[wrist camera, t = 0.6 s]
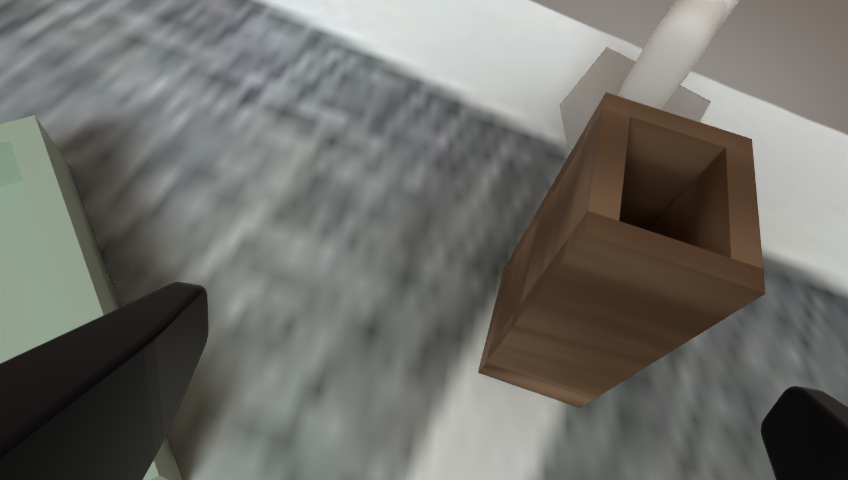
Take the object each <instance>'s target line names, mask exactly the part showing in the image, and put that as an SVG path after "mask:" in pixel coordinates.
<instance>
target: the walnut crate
mask: <svg viewBox="0 0 848 480" xmlns="http://www.w3.org/2000/svg"><path fill="white" fill-rule="evenodd" d="M764 294H765V284H764V273H763V262H762V250H761V239H760V227H759V216H758V205H757V193H756V182H755V171H754V159H753V148H752V139H750V138H747V137H743V136H740V135H737V134H734V133H731V132H728V131H725V130H722V129H719V128H715V127H712V126H709V125H706V124H703V123H700V122H697V121H694V120H691V119H687V118H684V117H681V116H678V115H675V114H672V113H669V112H666V111H663V110H660V109H656V108H653V107H650V106H647V105H644V104H641V103H638V102H635V101H632V100H628V99H625V98H622V97H619V96H616V95H613V94H610V93H607V92H606V93H605V95H604V96H603V98H602V100H601V101H600V103H599V105H598V107H597V108H596V110H595V112H594V114H593V115H592V117H591V119H590V120H589V122H588V124H587V126H586V127H585V129H584V131H583V133H582V134H581V136H580V138H579V140H578V141H577V143H576V145H575V146H574V148H573V150H572V152H571V153H570V155H569V157H568V159H567V160H566V162H565V164H564V166H563V167H562V169H561V171H560V172H559V174H558V176H557V178H556V179H555V181H554V183H553V185H552V186H551V188H550V190H549V192H548V193H547V195H546V197H545V198H544V200H543V202H542V204H541V205H540V207H539V209H538V211H537V212H536V214H535V216H534V218H533V219H532V221H531V223H530V224H529V226H528V228H527V230H526V231H525V233H524V235H523V237H522V238H521V240H520V242H519V243H518V245H517V247H516V249H515V250H514V252H513V254H512V256H511V257H510V259H509V261H508V263H507V264H506V266H505V268H504V271H503V275H502V279H501V283H500V287H499V291H498V295H497V299H496V303H495V307H494V311H493V315H492V319H491V323H490V327H489V331H488V335H487V339H486V343H485V347H484V351H483V355H482V359H481V363H480V367H479V371H478V373H481V374H484V375H487V376H490V377H493V378H495V379H498V380H501V381H504V382H507V383H510V384H513V385H516V386H518V387H521V388H524V389H527V390H530V391H533V392H536V393H539V394H541V395H544V396H547V397H550V398H553V399H556V400H559V401H562V402H564V403H567V404H570V405H573V406H576V407H579V408H580V407H582V406H583V405H585V404H587V403H588V402H590V401H591V400H593V399H595V398H596V397H598V396H600V395H601V394H603V393H604V392H606V391H608V390H609V389H611V388H613V387H614V386H616V385H617V384H619V383H621V382H622V381H624V380H626V379H627V378H629V377H630V376H632V375H634V374H635V373H637V372H639V371H640V370H642V369H643V368H645V367H647V366H648V365H650V364H652V363H653V362H655V361H656V360H658V359H660V358H661V357H663V356H665V355H666V354H668V353H669V352H671V351H673V350H674V349H676V348H678V347H679V346H681V345H682V344H684V343H686V342H687V341H689V340H691V339H692V338H694V337H695V336H697V335H699V334H700V333H702V332H704V331H705V330H707V329H708V328H710V327H712V326H713V325H715V324H717V323H718V322H720V321H721V320H723V319H725V318H726V317H728V316H730V315H731V314H733V313H734V312H736V311H738V310H739V309H741V308H743V307H744V306H746V305H747V304H749V303H751V302H752V301H754V300H756V299H757V298H759V297H760V296H762V295H764Z"/></svg>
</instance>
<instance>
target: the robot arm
mask: <svg viewBox="0 0 848 480" xmlns="http://www.w3.org/2000/svg"><path fill="white" fill-rule="evenodd" d="M207 337H208V303H207V292H206V289H205V288H204V287H202V286H200V285H194V284H188V283H182V282H175V283H172V284H170V285H167V286H165V287H163V288H161V289H159V290H157V291H155V292H152V293H150V294H148V295H146V296H144V297H142V298H140V299H137V300H135V301H133V302H131V303H129V304H127V305H125V306H122V307H120V308H118V309H116V310H114V311H112V312H109V313H107V314H105V315H103V316H101V317H99V318H97V319H94V320H92V321H90V322H88V323H86V324H84V325H82V326H79V327H77V328H75V329H73V330H71V331H69V332H67V333H64V334H62V335H60V336H58V337H56V338H54V339H52V340H49V341H47V342H45V343H43V344H41V345H39V346H37V347H34V348H32V349H30V350H28V351H26V352H24V353H22V354H19V355H17V356H15V357H13V358H11V359H9V360H7V361H4V362H2V363H0V480H143V478H144V476H145V475H146V473H147V471H148V469H149V468H150V466H151V464H152V462H153V461H154V459H155V457H156V455H157V453H158V451H159V449H160V448H161V446H162V444H163V442H164V440H165V438H166V436H167V434H168V431H169V429H170V427H171V425H172V422H173V420H174V418H175V415H176V413H177V411H178V408H179V406H180V404H181V401H182V399H183V397H184V394H185V392H186V390H187V387H188V385H189V383H190V380H191V378H192V375H193V373H194V371H195V368H196V366H197V364H198V361H199V359H200V357H201V354H202V352H203V350H204V347H205V345H206V341H207ZM761 435H762V439H763V442H764V445H765V448H766V451H767V454H768V457H769V460H770V463H771V466H772V469H773V472H774V475H775V478H776V480H848V407H847V406H845V405H843V404H842V403H840V402H839V401H837V400H836V399H834V398H833V397H831V396H830V395H828V394H826V393H825V392H823V391H820V390H817V389H811V388H805V387H799V386H793V387H790V388H788V389H787V390H785V392H784V393H783V394H782V395H781V397H780V398H779V399H778V401H777V402H776V403H775V405H774V406H773V407H772V409H771V410H770V411H769V413H768V414H767V415H766V417H765V418H764V420H763V422H762V425H761Z"/></svg>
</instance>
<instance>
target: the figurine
mask: <svg viewBox="0 0 848 480" xmlns="http://www.w3.org/2000/svg"><path fill="white" fill-rule="evenodd" d="M738 1H739V0H675V1H674V3H673V4H672V6H671V8H670V9H669V11H668V13H667V14H666V15H665V17H664V18H663V19H662V20H661V22H660V23H659V24H658V26H657V27H656V29H655V30H654V32H653V33H652V35H651V36H650V38H649V40H648V42H647V43H646V45H645V47H644V49H643V50H642V52H641V54H640V56H639V57H638V59H637V61H636V62H635V61H633V60H631V59H629V58H627V57H625V56H623V55H621V54H619V53H617V52H616V51H614V50H612V49H610V48H608V47H607V48H606V49H605V50H604V51H603V53H602V54H601V55H600V56H599V57H598V59H597V60H596V61H595V62H594V64H593V65H592V66H591V67H590V69H589V70H588V71H587V72H586V74H585V75H584V76H583V77H582V78H581V80H580V81H579V82H578V83H577V85H576V86H575V87H574V88H573V90H572V91H571V92H570V93H569V95H568V96H567V97H566V98H565V100H564V101H563V102H562V103H561V104H560V110H561V115H562V120H563V125H564V130H565V135H566V140H567V145H568V147H569V148H571V149H572V150H573V148H574V146H575V145H576V143H577V141H578V140H579V138H580V136H581V134H582V133H583V131H584V129H585V127H586V126H587V124H588V122H589V120H590V119H591V117H592V115H593V114H594V112H595V110H596V108H597V107H598V105H599V103H600V101H601V100H602V98H603V96H604V95H605V93H606V92H607V93H610V94H613V95H616V96H619V97H622V98H625V99H628V100H632V101H635V102H638V103H641V104H644V105H647V106H650V107H653V108H656V109H660V110H663V111H666V112H669V113H672V114H675V115H678V116H681V117H684V118H687V119H691V120H694V121H697V122H700V121H701V119H702V117H703V115H704V113H705V111H706V109H707V107H708V105H709V103H710V102H711V101H709V100H707V99H705V98H703V97H701V96H700V95H698V94H696V93H694V92H692V91H690V90H688V89H686V88H684V87H682V86H680V84H681V83H682V82H683V80H684V79H685V78H686V76H687V75H688V74H689V72H690V71H691V70H692V69H693V67H694V66H695V64H696V63H697V62H698V60H699V59H700V58H701V56H702V55H703V53H704V52H705V50H706V49H707V47H708V45H709V43H710V41H711V39H712V38H713V36H714V35H715V33H716V32H717V31H718V29H719V27H720V26H721V25H722V24H723V22H724V21H725V20H726V18H727V17H728V15H729V14H730V13H731V11H732V10H733V8H734V7H735V6H736V4H737V3H738Z"/></svg>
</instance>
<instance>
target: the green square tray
mask: <svg viewBox="0 0 848 480" xmlns="http://www.w3.org/2000/svg"><path fill="white" fill-rule="evenodd" d="M118 308H120V306H119V303H118V300H117V298H116V295H115V292H114V289H113V287H112V284H111V281H110V278H109V276H108V273H107V270H106V267H105V265H104V262H103V259H102V256H101V254H100V251H99V248H98V245H97V242H96V240H95V237H94V234H93V231H92V229H91V226H90V223H89V220H88V218H87V215H86V212H85V209H84V207H83V204H82V201H81V198H80V196H79V193H78V190H77V187H76V185H75V182H74V179H73V176H72V174H71V171H70V168H69V165H68V163H67V162H66V160H65V159H64V157H63V156H62V154H61V153H60V151H59V150H58V149H57V147H56V146H55V144H54V143H53V141H52V140H51V138H50V137H49V135H48V134H47V133H46V131H45V130H44V128H43V127H42V125H41V124H40V122H39V121H38V119H37V118H36V117H35V115H34V116H30V117H26V118H23V119H19V120H15V121H11V122H7V123H3V124H0V363H2V362H4V361H7V360H9V359H11V358H13V357H15V356H17V355H19V354H22V353H24V352H26V351H28V350H30V349H32V348H34V347H37V346H39V345H41V344H43V343H45V342H47V341H49V340H52V339H54V338H56V337H58V336H60V335H62V334H64V333H67V332H69V331H71V330H73V329H75V328H77V327H79V326H82V325H84V324H86V323H88V322H90V321H92V320H94V319H97V318H99V317H101V316H103V315H105V314H107V313H109V312H112V311H114V310H116V309H118ZM143 480H182V477H181V474H180V471H179V469H178V466H177V463H176V460H175V458H174V455H173V452H172V449H171V447H170V444H169V441H168V438H167V436H166V438H165V440H164V442H163V444H162V446H161V448H160V449H159V451H158V453H157V455H156V457H155V459H154V461H153V462H152V464H151V466H150V468H149V469H148V471H147V473H146V475H145V476H144V478H143Z"/></svg>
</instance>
